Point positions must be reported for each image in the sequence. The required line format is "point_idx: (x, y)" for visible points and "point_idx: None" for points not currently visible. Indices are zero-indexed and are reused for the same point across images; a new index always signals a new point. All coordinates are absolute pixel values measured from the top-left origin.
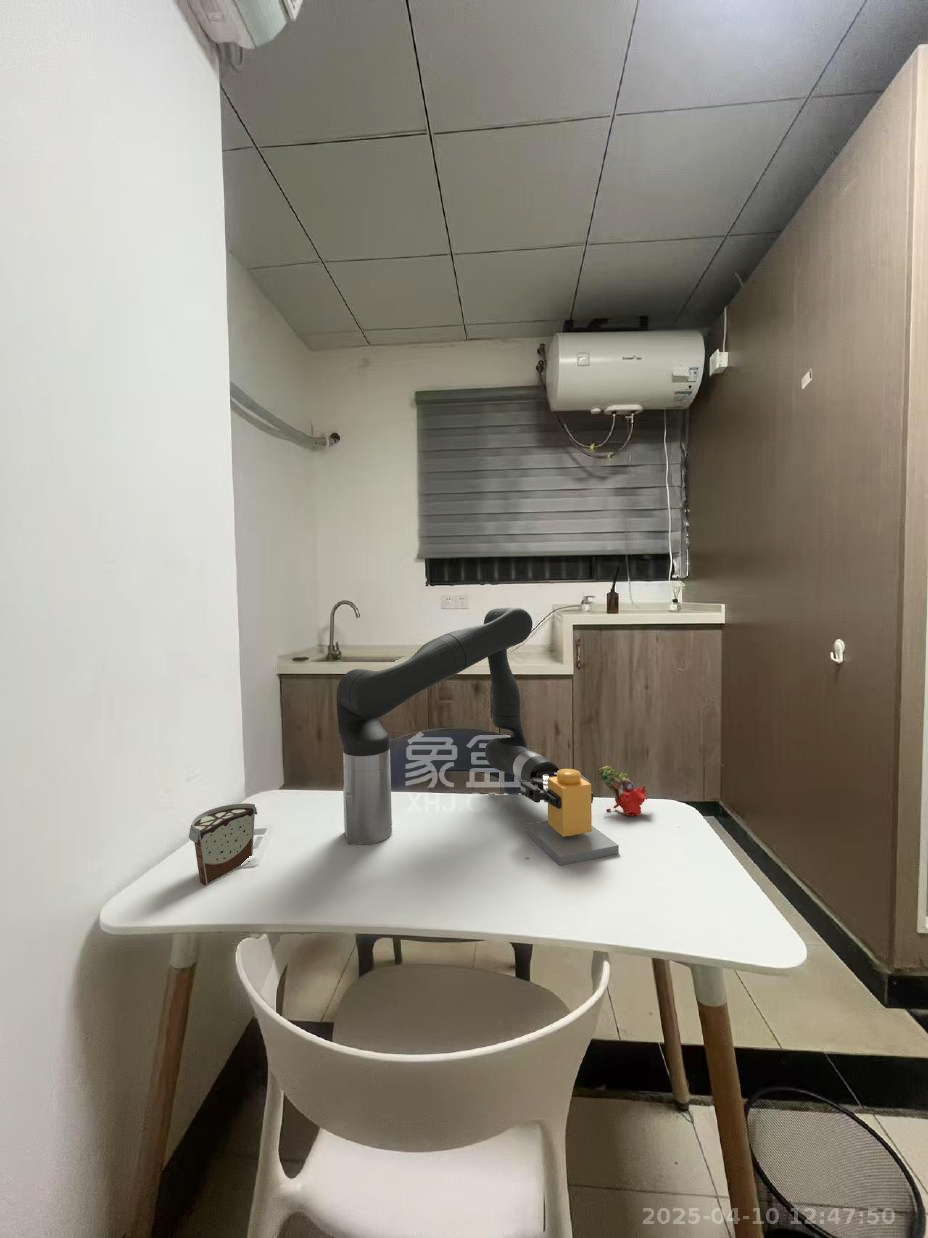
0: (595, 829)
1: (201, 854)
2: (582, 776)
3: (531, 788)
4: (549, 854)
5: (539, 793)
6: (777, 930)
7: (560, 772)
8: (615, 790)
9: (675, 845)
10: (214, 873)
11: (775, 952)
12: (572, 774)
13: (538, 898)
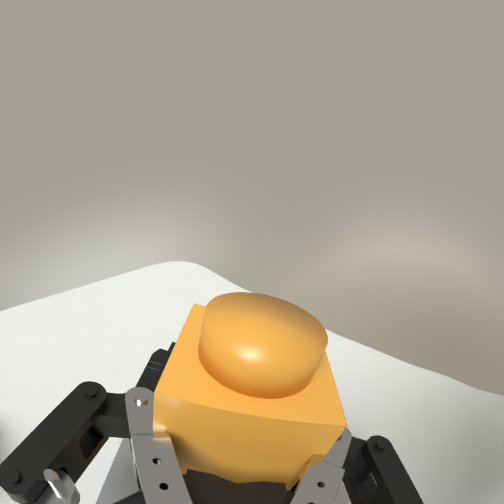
0: (123, 453)
1: None
2: (32, 440)
3: (400, 461)
4: None
5: (365, 442)
6: (156, 266)
7: (308, 339)
8: None
9: (39, 343)
10: None
11: (186, 266)
12: (263, 306)
13: (356, 380)
